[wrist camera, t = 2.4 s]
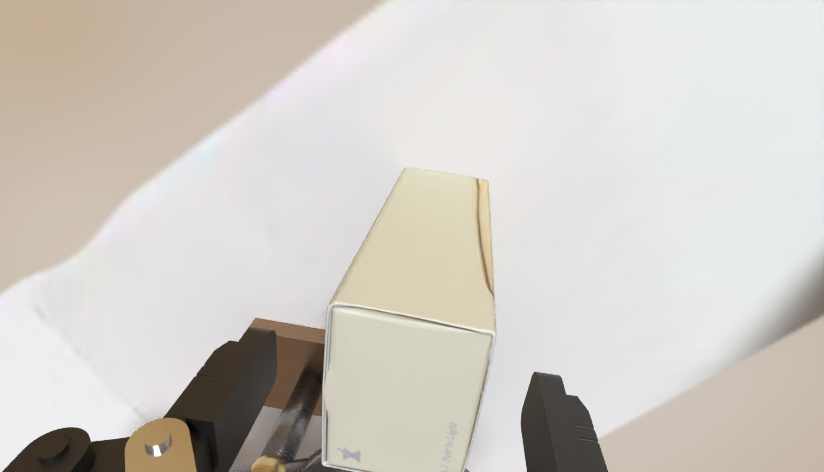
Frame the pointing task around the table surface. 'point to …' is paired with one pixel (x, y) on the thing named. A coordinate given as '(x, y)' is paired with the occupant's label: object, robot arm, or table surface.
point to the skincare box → (412, 332)
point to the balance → (293, 398)
